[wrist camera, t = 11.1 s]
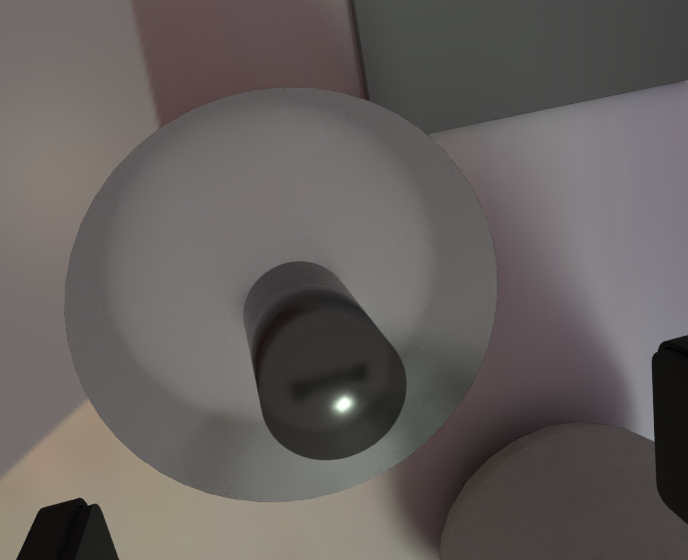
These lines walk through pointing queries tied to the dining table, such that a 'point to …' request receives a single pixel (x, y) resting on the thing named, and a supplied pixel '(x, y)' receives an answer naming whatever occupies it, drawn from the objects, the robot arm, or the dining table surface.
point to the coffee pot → (566, 501)
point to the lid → (281, 294)
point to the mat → (513, 54)
